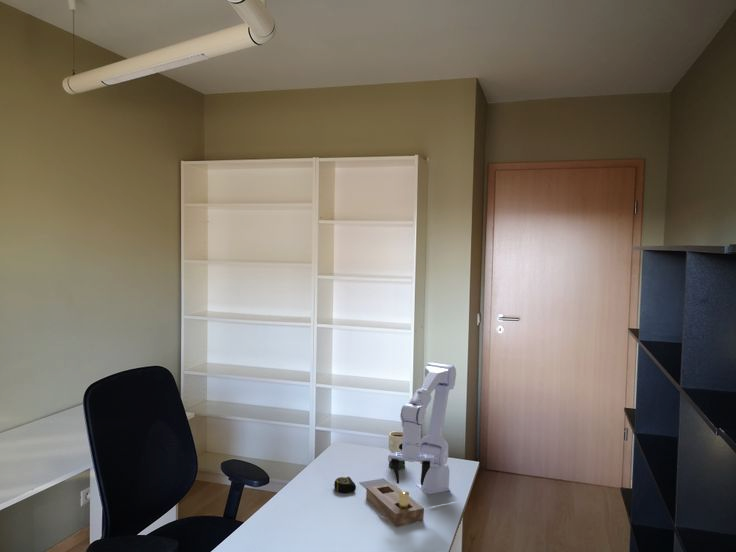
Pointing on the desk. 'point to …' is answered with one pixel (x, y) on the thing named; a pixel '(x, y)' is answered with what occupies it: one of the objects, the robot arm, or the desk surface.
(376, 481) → the rubber mat
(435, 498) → the desk surface
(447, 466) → the robot arm
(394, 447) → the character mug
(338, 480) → the tape measure
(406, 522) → the block
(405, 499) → the brass pin
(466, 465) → the desk surface
